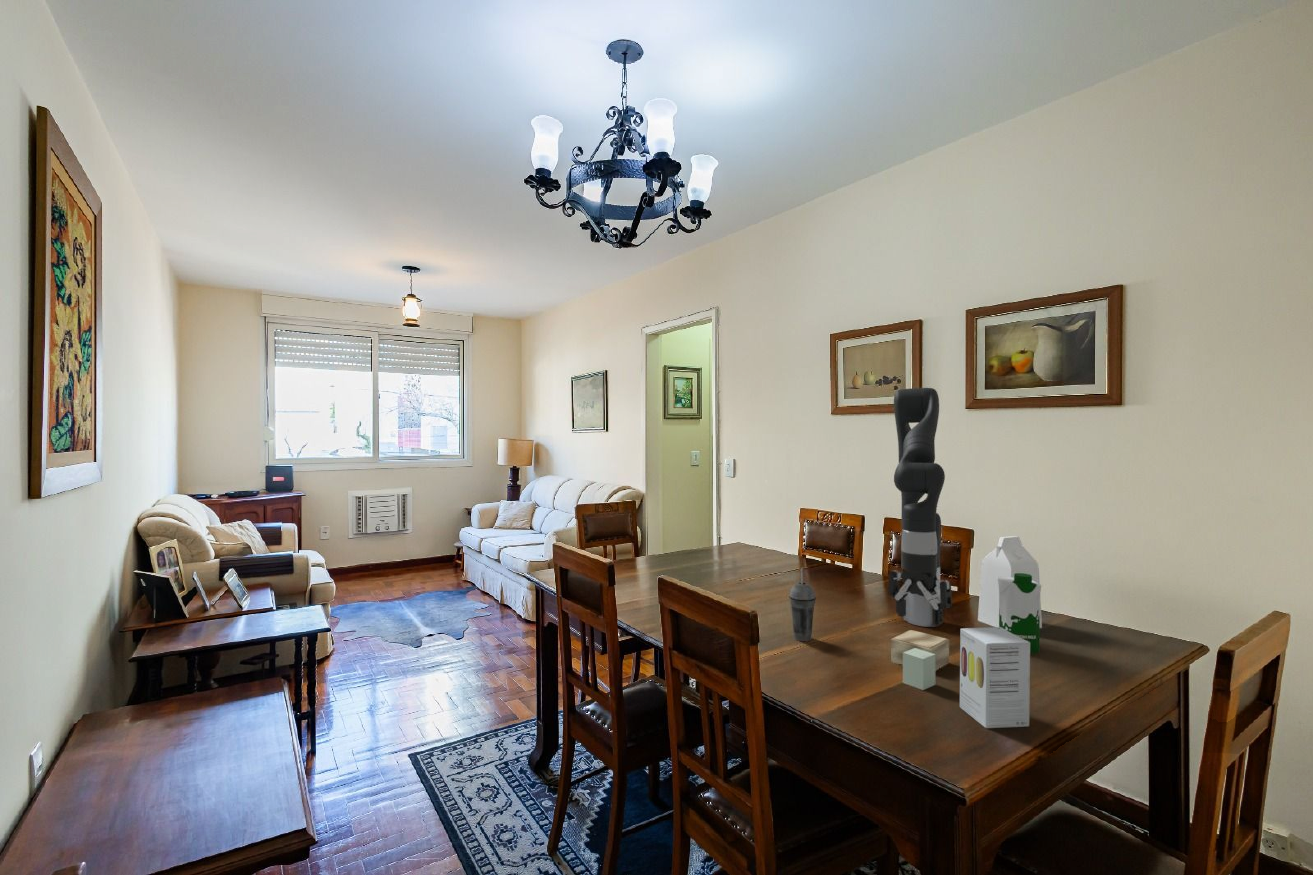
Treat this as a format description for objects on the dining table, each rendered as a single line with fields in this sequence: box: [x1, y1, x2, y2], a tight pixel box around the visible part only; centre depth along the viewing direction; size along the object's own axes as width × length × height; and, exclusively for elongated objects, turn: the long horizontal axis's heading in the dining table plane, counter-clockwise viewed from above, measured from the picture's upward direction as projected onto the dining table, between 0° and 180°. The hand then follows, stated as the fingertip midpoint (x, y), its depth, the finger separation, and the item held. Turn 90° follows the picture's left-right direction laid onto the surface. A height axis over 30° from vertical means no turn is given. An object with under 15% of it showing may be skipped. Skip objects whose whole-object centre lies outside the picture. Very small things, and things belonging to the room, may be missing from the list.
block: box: [902, 648, 936, 691], centre depth 141 cm, size 5×5×7 cm
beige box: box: [890, 629, 950, 672], centre depth 154 cm, size 10×10×6 cm
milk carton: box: [998, 573, 1042, 654], centre depth 163 cm, size 9×9×20 cm
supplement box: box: [959, 626, 1031, 729], centre depth 125 cm, size 10×9×17 cm
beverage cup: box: [788, 567, 817, 642], centre depth 171 cm, size 7×7×20 cm
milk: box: [977, 535, 1043, 629], centre depth 183 cm, size 12×12×26 cm
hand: (918, 620), depth 141 cm, fingers open, 8 cm apart
